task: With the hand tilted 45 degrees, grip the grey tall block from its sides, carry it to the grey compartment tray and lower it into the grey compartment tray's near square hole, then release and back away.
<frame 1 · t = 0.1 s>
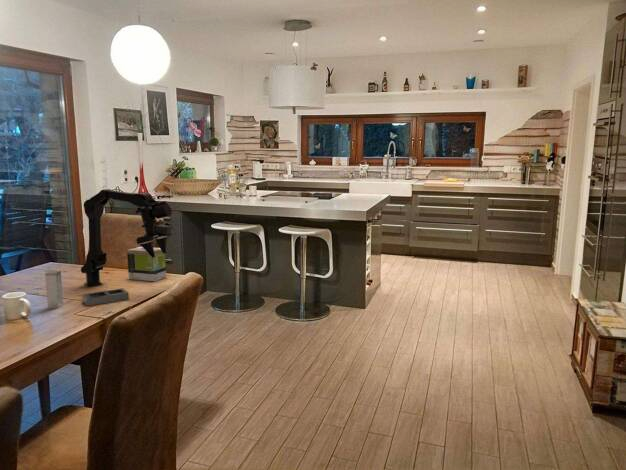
hand: (159, 255, 213), 15 cm above the table, tool pointing down, fingers open, 9 cm apart
tea box: (147, 278, 235), on the table
grey tall block: (55, 306, 190), on the table
grey compartment tray: (105, 300, 198), on the table
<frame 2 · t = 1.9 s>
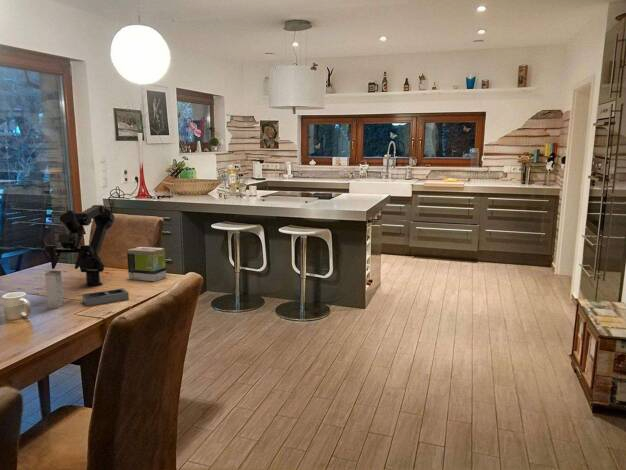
hand: (64, 268, 195), 13 cm above the table, tool tilted 45°, fingers open, 9 cm apart
nothing on the table moved.
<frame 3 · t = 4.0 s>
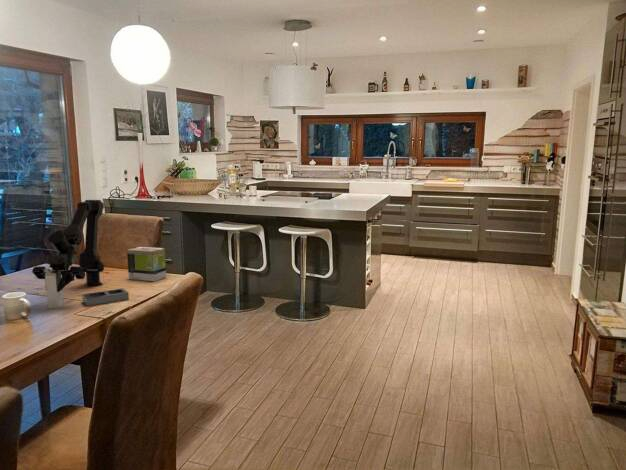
hand: (52, 291, 187), 7 cm above the table, tool tilted 45°, fingers closed on grey tall block, 4 cm apart
grey tall block: (55, 306, 190), on the table, touching gripper
everything else where it was.
when the fingers open (8 cm above the table, at t = 7.4 s): grey tall block drops 1 cm, resting in grey compartment tray.
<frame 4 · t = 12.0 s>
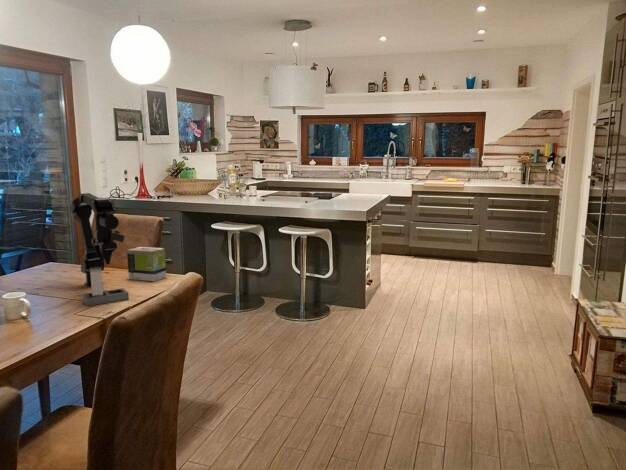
hand: (105, 262, 209), 13 cm above the table, tool pointing down, fingers open, 9 cm apart
grey tall block: (98, 301, 196), resting in grey compartment tray
everything else where it was.
at the end: grey tall block 0.0 cm from the target spot on the grey compartment tray, point 0.0 cm above the grey compartment tray's base; grey tall block tilted 0°; the gripper is holding nothing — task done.
